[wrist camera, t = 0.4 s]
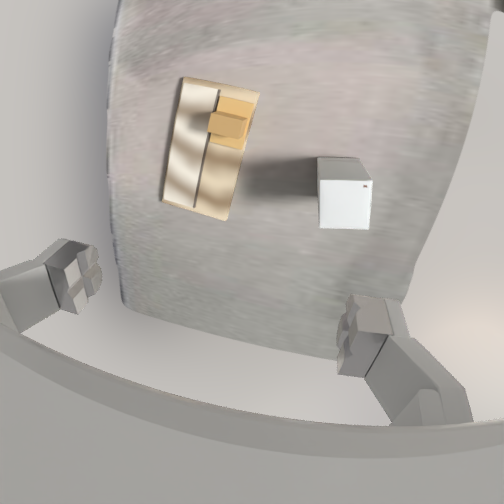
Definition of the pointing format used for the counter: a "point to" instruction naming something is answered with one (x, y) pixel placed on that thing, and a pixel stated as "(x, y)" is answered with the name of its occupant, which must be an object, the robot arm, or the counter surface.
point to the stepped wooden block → (230, 122)
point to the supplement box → (343, 193)
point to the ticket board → (203, 151)
